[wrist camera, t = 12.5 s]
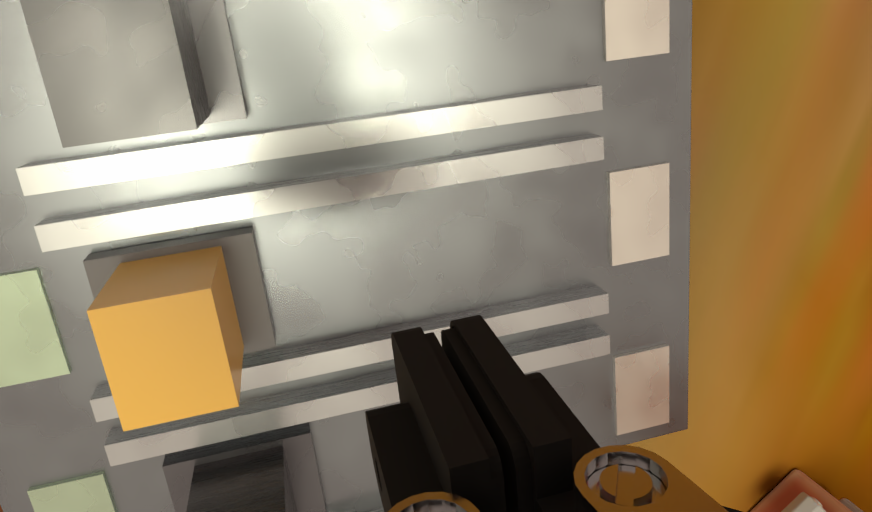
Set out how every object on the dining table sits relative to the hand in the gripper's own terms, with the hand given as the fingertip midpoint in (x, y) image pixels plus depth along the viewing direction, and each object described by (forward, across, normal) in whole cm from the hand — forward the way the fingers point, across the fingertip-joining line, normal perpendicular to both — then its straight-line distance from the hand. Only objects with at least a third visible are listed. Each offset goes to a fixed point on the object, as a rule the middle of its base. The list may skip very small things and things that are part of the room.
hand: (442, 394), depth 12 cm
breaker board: (+13, 0, +2) cm, 13 cm away
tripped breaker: (+11, +6, +2) cm, 13 cm away
